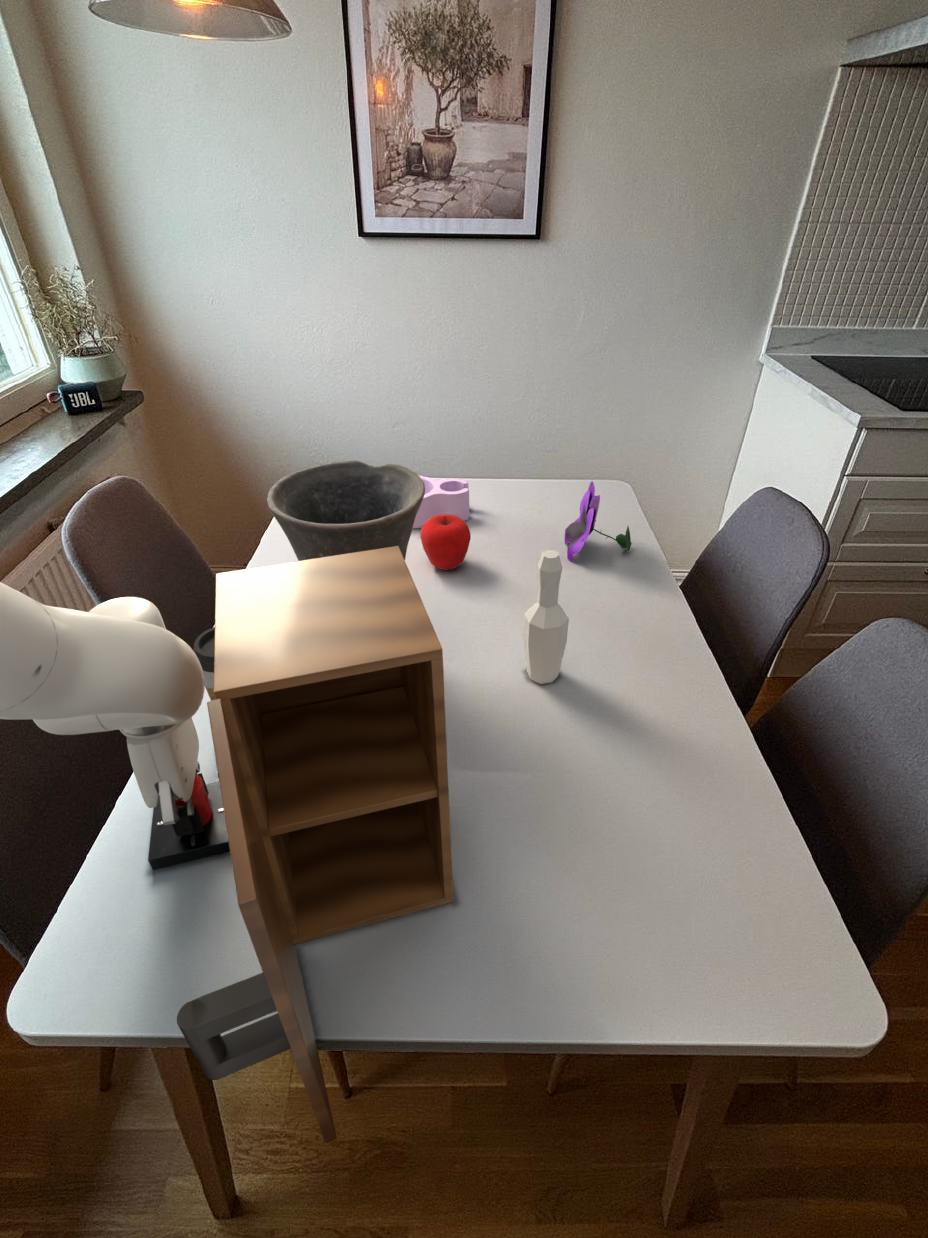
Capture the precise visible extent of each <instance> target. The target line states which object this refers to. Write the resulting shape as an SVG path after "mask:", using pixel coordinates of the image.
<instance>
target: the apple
mask: <svg viewBox="0 0 928 1238" xmlns="http://www.w3.org/2000/svg"><path fill="white" fill-rule="evenodd" d="M471 537H472V535H471V531H470V527H469V525H468V524H467V522H466V521H463V520H462V519H461V518H459V517H458V516H455V515H447V514H442V515H436V516H433V517H431V518H430V519H429V520H428V521H427V522H425V523H424V524H423V526H422V528H421V530H420V537H419V539H420V541H421V544H422V549H423V551H424V553H425V555H426V557H427V559H428V561H429V563H430V565H432V566H434V567H436V568H438V569H440V570H445V571H446V570H447V571H449V570H453V569H456V568H457V567H459V566H460V565H461V564H462V563H463V562H464V560H465V558H466V556H467V553H468V551H469V547H470V542H471Z"/></svg>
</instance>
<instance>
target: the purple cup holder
mask: <svg viewBox="0 0 928 1238" xmlns="http://www.w3.org/2000/svg"><path fill="white" fill-rule="evenodd" d="M418 476H419V477H420V478H421V479H422V480H423V482H424V485H425V494H424V497H423V500H422V503H421V505H420V508H419V510H418V512H417V514H416V517H415V520H414V524H413V528H412V529H422V526H423V524H424V523H425V522H427V521H428V520H429V519H430V518H431V517H433V516H436V515H442V514H447V515H455V516H458V517H459V518H461V519H462V520H463V521H465V522H466V521H467V520H469V519H470V488H469V487H470V485H469V481H468V480H466V479H463V478H454V477H453V478H444V479H436V478H432V477H428V476H424V475H418Z"/></svg>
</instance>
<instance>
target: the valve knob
mask: <svg viewBox="0 0 928 1238" xmlns="http://www.w3.org/2000/svg"><path fill="white" fill-rule="evenodd" d="M197 774H198V773H197ZM197 774H195V780H194V786H193V791H192V795H191V799H192V803H193V807H197V808H198V811H199V814H200V816H201V819H202V822H203V825H206V824H207V823H208V822H209V820H210V819H211V817H212V813H213V810H212V807H211V804H210V801H209V798H208V796H207V793H206V790H205V787H204V784H203V781H202V779H201V777H200V776H199V775H197ZM175 805H176V807H179V806H185V804H184V801H182V799H181V800H175Z"/></svg>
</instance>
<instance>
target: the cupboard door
mask: <svg viewBox="0 0 928 1238" xmlns="http://www.w3.org/2000/svg"><path fill="white" fill-rule="evenodd" d="M206 706H207V712H208V718H209V725H210V731H211V738H212V745H213V751H214V757H215V763H216V770H217V776H218V782H219V783H220V790H221V796H222V803H223V809H224V815H225V822H226V828H227V835H228V841H229V848H230V852H229V853H230V859H231V866H232V872H233V873H232V874H233V879H234V885H235V892H236V899H237V904H238V908H239V910H240V913H241V916H242V919H243V921H244V924H245V928H246V930H247V932H248V935H249V938H250V941H251V944H252V947H253V949H254V952H255V954H256V957H257V960H258V963H259V965H260V969H261V971H262V972H260V973H258V974H255V975H253V976H250V977H248V978H244V979H242V980H240V981H237V982H235V983H232V984H228V985H227V986H224V987H222V988H219V989H216V990H214V991H212V992H208V993H205V994H203V995H201V996H199V997H196V998H193V999H191V1000H188V1001H186V1002H185V1003H184V1004H183V1005H182V1006H181V1007H180V1009H179V1010H178V1012H177V1014H176V1024H177V1026H178V1029H179V1031H180V1032H181V1034H182V1035H183V1037H184V1039H185V1040H186V1042H187V1044H188V1047H189V1049H190V1050H191V1051H192V1053H193V1055H194V1057H195V1059H196V1060H197V1062H198V1064H199V1066H200V1068H201V1070H202V1072H203V1074H204V1075H205V1077H206V1078H207V1079H208V1080H211V1081H218V1080H221V1079H224V1078H225V1077H228V1076H230V1075H233V1074H235V1073H237V1072H239V1071H242V1070H245V1069H247V1068H249V1067H251V1066H253V1065H254V1066H255V1065H256V1064H259V1063H261V1062H263V1061H265V1060H268V1059H270V1058H273V1057H275V1056H277V1055H279V1054H282V1053H285V1052H287V1051H289V1050H291V1054H292V1056H293V1058H294V1059H293V1060H294V1062H295V1064H296V1067H297V1070H298V1072H299V1076H300V1078H301V1080H302V1083H303V1087H304V1089H305V1092H306V1094H307V1098H308V1100H309V1102H310V1106H311V1108H312V1110H313V1114H314V1116H315V1119H316V1121H317V1124H318V1128H319V1130H320V1133H321V1135H322V1138H323V1141H324V1143H325V1144H328V1143H330V1142H332V1141H334V1140H336V1139H337V1132H336V1127H335V1123H334V1119H333V1118H334V1117H333V1116H332V1115H333V1114H332V1110H331V1104H330V1100H329V1096H328V1091H327V1087H326V1083H325V1077H324V1073H323V1069H322V1068H323V1067H322V1063H321V1059H320V1054H319V1050H318V1049H319V1048H318V1046H317V1041H316V1036H315V1032H314V1027H313V1021H312V1019H311V1014H310V1009H309V1003H308V1000H307V994H306V989H305V986H304V982H303V981H304V980H303V977H302V972H301V967H300V963H299V959H298V954H297V950H296V946H295V945H294V942H293V939H292V936H291V932H290V929H289V926H288V922H287V919H286V916H285V912H284V909H283V906H282V902H281V899H280V896H279V892H278V889H277V886H276V882H275V879H274V876H273V872H272V869H271V866H270V862H269V859H268V855H267V852H266V849H265V845H264V842H263V839H262V835H261V832H260V829H259V825H258V822H257V819H256V815H255V812H254V809H253V805H252V802H251V799H250V795H249V792H248V789H247V785H246V782H245V779H244V775H243V772H242V769H241V765H240V762H239V759H238V755H237V752H236V749H235V745H234V742H233V739H232V735H231V732H230V729H229V725H228V722H227V719H226V715H225V712H224V709H223V705H222V702H221V699H217V700H213V701H211V700H210V701H207V702H206ZM273 1013H275V1014H273ZM271 1014H272V1015H271ZM268 1015H270V1016H268ZM265 1016H267V1017H265ZM263 1017H265V1018H263ZM260 1018H262V1019H260ZM258 1019H260V1020H258ZM255 1020H258V1021H255ZM253 1021H255V1022H253ZM251 1022H253V1023H251ZM248 1023H250V1024H248ZM246 1024H248V1025H246ZM243 1025H245V1026H243ZM242 1026H243V1027H242ZM239 1027H240V1028H239ZM235 1028H238V1029H236V1030H233V1029H235ZM231 1030H233V1031H231ZM229 1031H231V1032H229ZM226 1032H228V1033H226ZM223 1033H226V1034H223ZM222 1034H223V1035H222Z"/></svg>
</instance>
